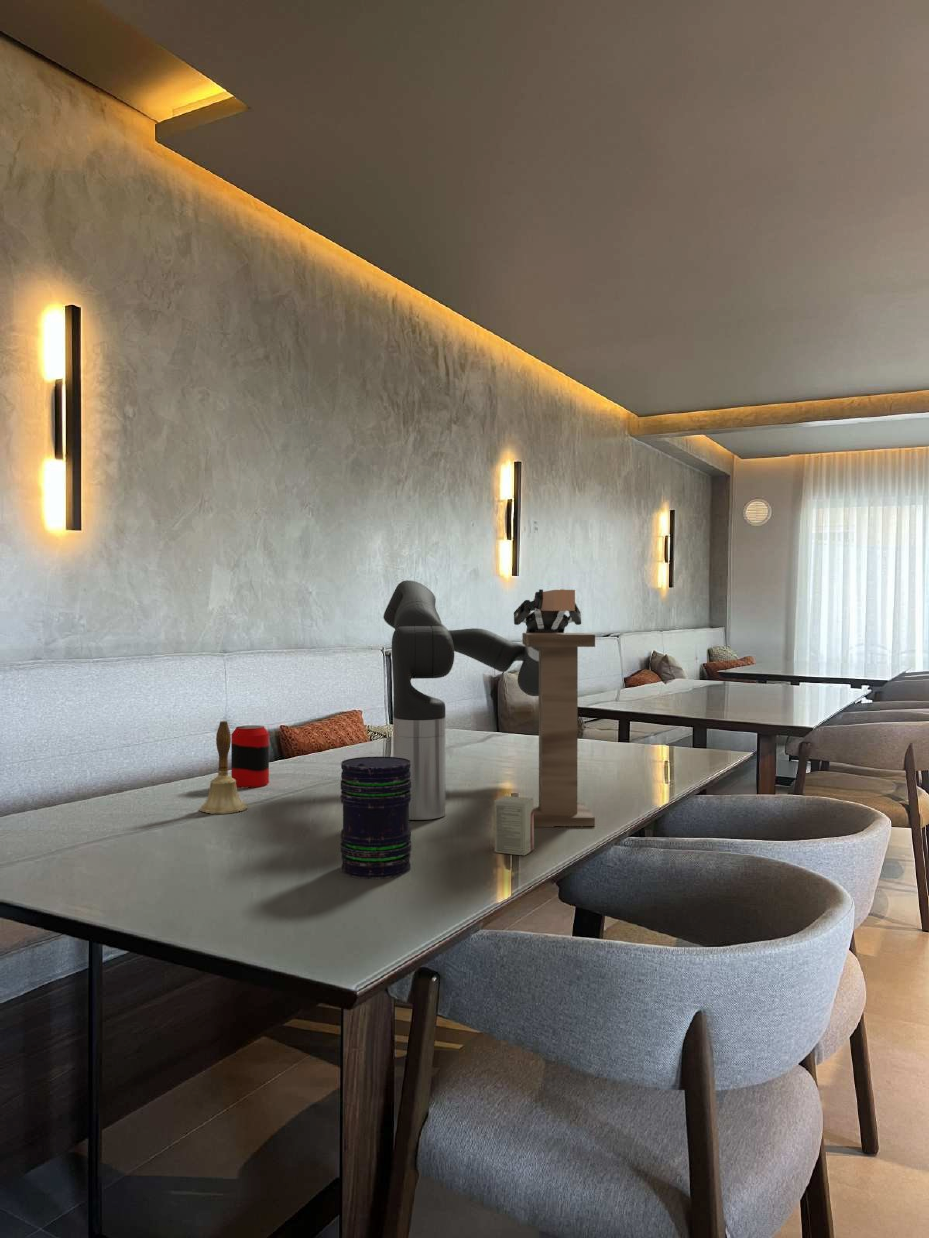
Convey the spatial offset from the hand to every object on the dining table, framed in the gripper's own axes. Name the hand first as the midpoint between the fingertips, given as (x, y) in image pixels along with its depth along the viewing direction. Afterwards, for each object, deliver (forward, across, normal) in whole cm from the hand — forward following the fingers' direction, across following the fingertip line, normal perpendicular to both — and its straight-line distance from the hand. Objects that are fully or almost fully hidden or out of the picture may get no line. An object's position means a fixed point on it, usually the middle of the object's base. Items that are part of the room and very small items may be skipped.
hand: (551, 593), depth 177 cm
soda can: (-35, +61, -25) cm, 74 cm away
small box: (+12, +10, -52) cm, 54 cm away
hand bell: (-14, +60, -37) cm, 72 cm away
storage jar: (+20, +30, -57) cm, 67 cm away
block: (+5, 0, -6) cm, 8 cm away
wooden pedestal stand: (-8, +1, -41) cm, 41 cm away
